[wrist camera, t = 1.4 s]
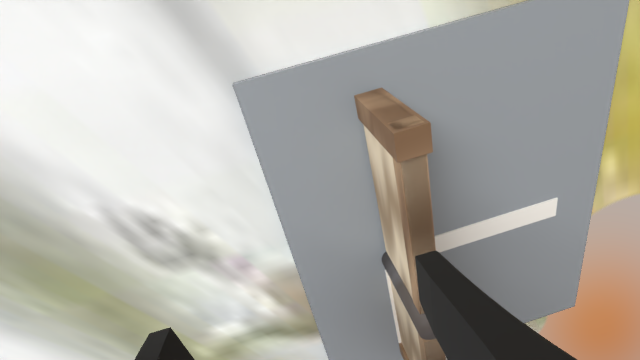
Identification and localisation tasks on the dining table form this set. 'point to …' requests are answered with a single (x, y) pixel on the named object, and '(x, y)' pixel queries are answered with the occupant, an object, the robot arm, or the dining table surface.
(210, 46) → the dining table surface
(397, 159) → the post
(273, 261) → the dining table surface
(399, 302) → the fixed fence section
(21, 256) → the dining table surface
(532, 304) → the card
